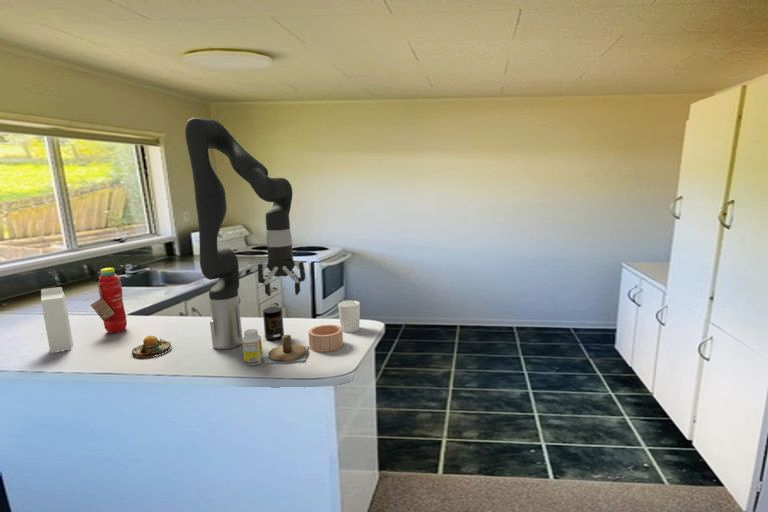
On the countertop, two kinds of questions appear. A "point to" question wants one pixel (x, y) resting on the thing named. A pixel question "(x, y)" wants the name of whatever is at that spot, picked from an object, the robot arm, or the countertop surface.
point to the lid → (287, 351)
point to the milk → (56, 319)
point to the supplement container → (273, 323)
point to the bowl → (325, 338)
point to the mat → (288, 361)
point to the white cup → (349, 315)
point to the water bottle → (110, 302)
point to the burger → (151, 347)
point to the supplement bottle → (252, 347)
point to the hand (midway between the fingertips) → (283, 294)
